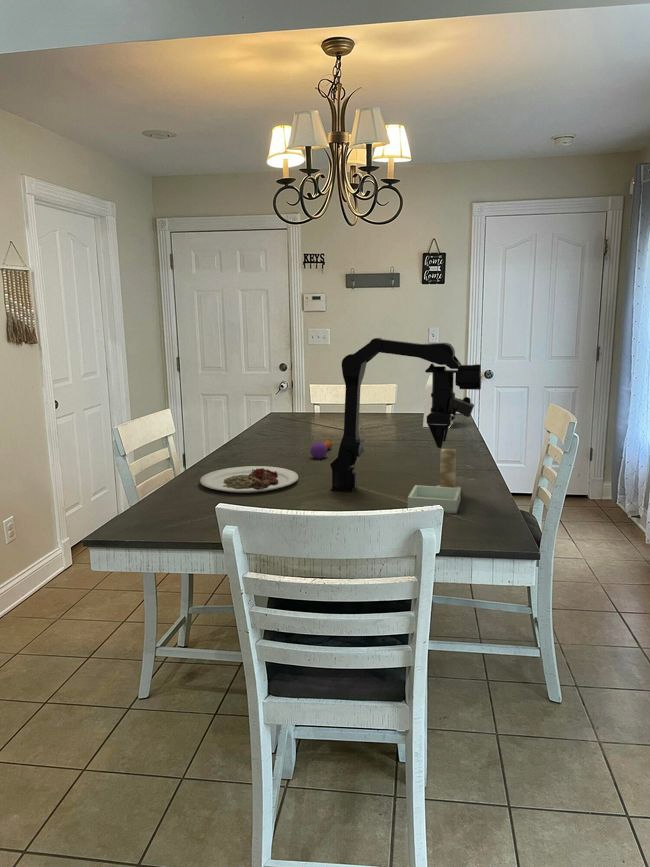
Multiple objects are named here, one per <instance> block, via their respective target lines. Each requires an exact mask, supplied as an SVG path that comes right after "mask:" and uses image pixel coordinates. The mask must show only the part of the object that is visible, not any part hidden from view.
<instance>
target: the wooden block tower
mask: <svg viewBox="0 0 650 867" xmlns="http://www.w3.org/2000/svg"><path fill="white" fill-rule="evenodd" d="M439 460H440V461H439V464H440V466H439V484H436V487H451V488H461V489H462V486H456V473H457V472H456V471H457V449H456V448H441V450H440V457H439Z"/></svg>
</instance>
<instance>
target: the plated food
mask: <svg viewBox="0 0 650 867" xmlns="http://www.w3.org/2000/svg"><path fill="white" fill-rule="evenodd" d="M298 479H299V475H298V473H297V472H296V471H293V470H290V469H287V468H283V467H277V466H276V467H275V466H267V465H266V466H264V465H263V466H262V465H258V466H256V465H252V466H251V465H250V466H237V467H235V466H234V467H228V468H222V469H218V470H214V471H211V472H208V473H206V474H204V475H203V476H201V477H200V481H199V482H200V484H201V485H202V486H203V487H206V488H209V489H212V490H216V491H222V492H229V493H236V494H237V493H241V494H242V493H243V494H245V493H247V494H249V493H260V492H261V493H263V492H268V491H273V490H277V489H279V488H280V489H281V488H284V487H287V486H290V485H293V484H294V483H296V482H297V481H298Z"/></svg>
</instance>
